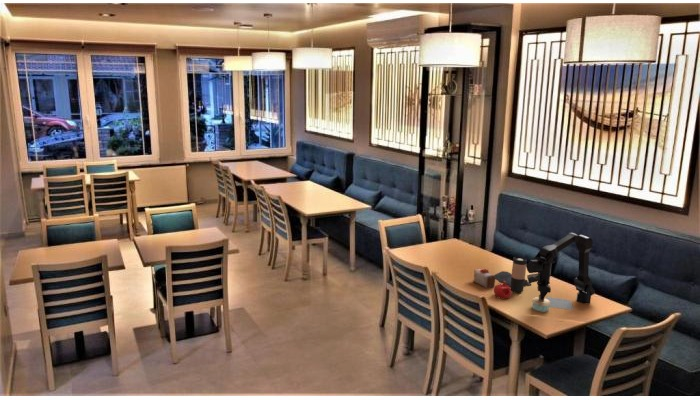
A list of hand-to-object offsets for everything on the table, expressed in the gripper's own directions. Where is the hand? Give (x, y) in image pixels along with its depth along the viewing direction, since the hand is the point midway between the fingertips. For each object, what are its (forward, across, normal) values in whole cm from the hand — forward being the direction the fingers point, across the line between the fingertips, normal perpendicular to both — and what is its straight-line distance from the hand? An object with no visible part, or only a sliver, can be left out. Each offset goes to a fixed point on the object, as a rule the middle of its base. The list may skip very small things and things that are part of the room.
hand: (541, 298), depth 277 cm
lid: (+2, 0, 0) cm, 3 cm away
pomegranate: (+7, -11, -20) cm, 24 cm away
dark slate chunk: (+7, -38, -15) cm, 41 cm away
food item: (+7, -26, -31) cm, 41 cm away
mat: (+7, -11, +10) cm, 17 cm away
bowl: (+7, 0, 0) cm, 7 cm away
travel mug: (+7, -23, -12) cm, 27 cm away
